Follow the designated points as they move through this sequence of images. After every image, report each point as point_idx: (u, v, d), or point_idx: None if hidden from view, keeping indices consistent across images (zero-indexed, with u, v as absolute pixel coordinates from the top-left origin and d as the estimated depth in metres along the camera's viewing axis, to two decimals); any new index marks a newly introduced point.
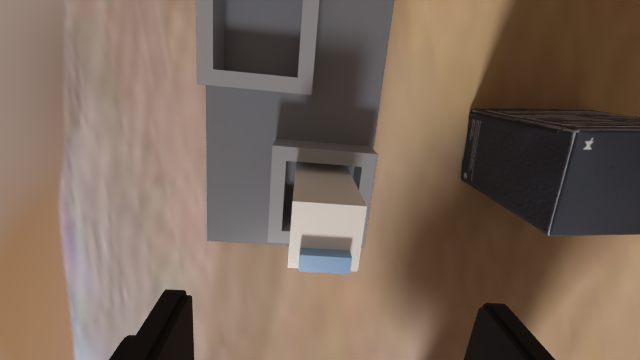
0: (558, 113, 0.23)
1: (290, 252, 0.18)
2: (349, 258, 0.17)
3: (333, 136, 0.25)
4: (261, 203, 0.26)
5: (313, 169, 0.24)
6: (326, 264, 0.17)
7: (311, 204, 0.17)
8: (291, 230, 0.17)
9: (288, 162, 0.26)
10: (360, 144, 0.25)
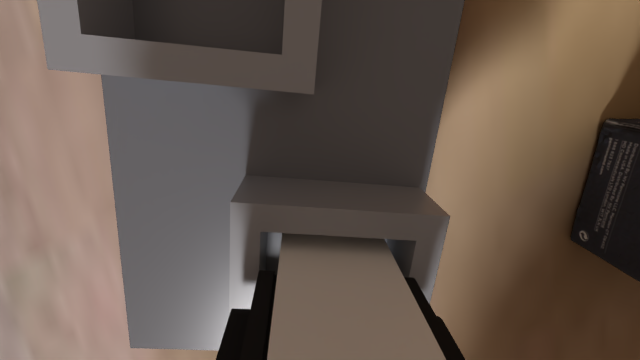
0: None
1: None
2: None
3: (353, 170, 0.13)
4: (222, 287, 0.15)
5: (316, 241, 0.12)
6: None
7: None
8: None
9: None
10: (402, 184, 0.14)
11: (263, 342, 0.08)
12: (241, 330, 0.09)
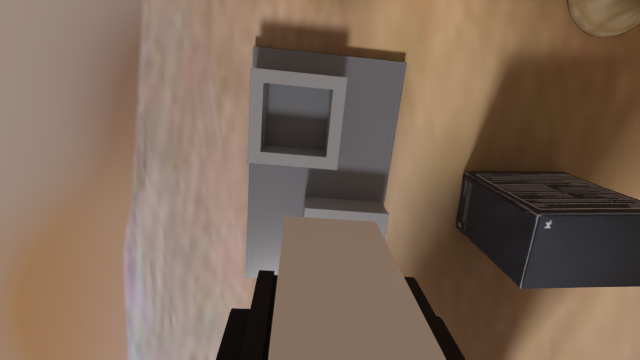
0: (533, 181, 0.29)
1: None
2: None
3: (351, 194, 0.31)
4: None
5: (317, 241, 0.12)
6: None
7: None
8: None
9: None
10: (373, 200, 0.31)
11: (263, 342, 0.08)
12: (241, 331, 0.09)
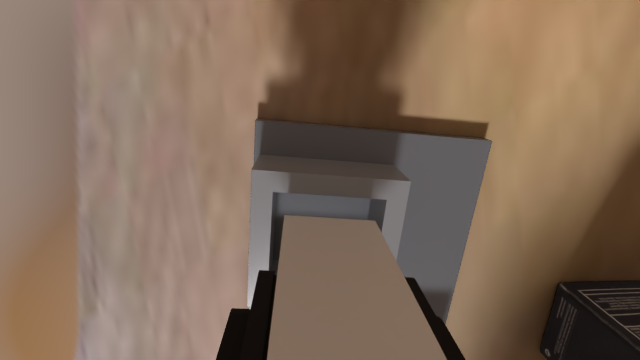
0: None
1: None
2: None
3: None
4: None
5: (316, 240, 0.12)
6: None
7: None
8: None
9: None
10: None
11: (263, 342, 0.08)
12: (241, 330, 0.09)
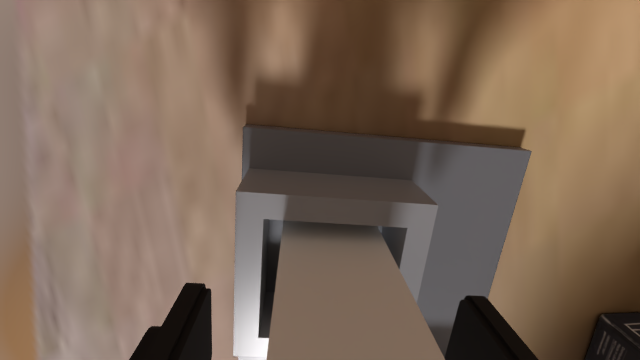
0: None
1: None
2: None
3: None
4: None
5: (315, 230, 0.13)
6: None
7: None
8: None
9: None
10: None
11: None
12: None
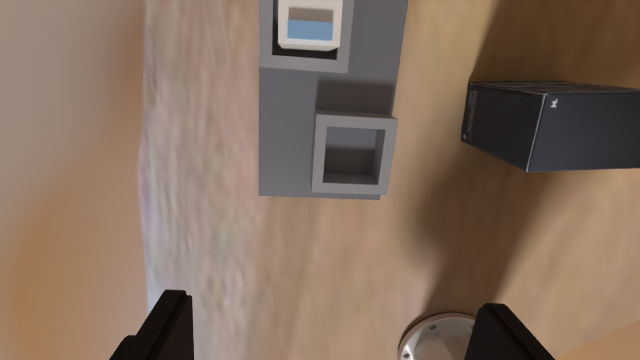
0: (537, 83, 0.30)
1: (279, 26, 0.20)
2: (331, 23, 0.20)
3: (360, 106, 0.31)
4: (302, 163, 0.33)
5: None
6: (311, 29, 0.20)
7: None
8: (279, 2, 0.20)
9: None
10: (381, 113, 0.32)
11: None
12: None
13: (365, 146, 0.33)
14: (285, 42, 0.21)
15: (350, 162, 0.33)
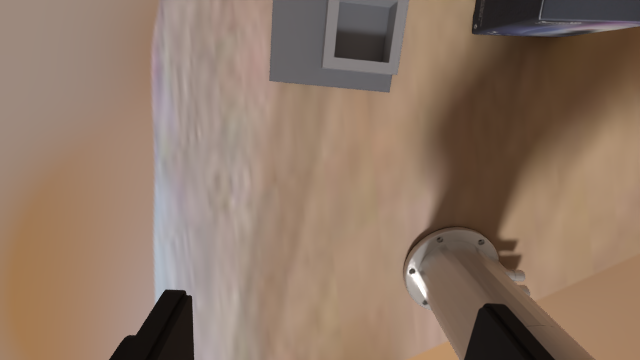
0: None
1: None
2: None
3: None
4: (313, 47, 0.33)
5: None
6: None
7: None
8: None
9: None
10: None
11: None
12: None
13: (376, 31, 0.33)
14: None
15: (361, 48, 0.33)
